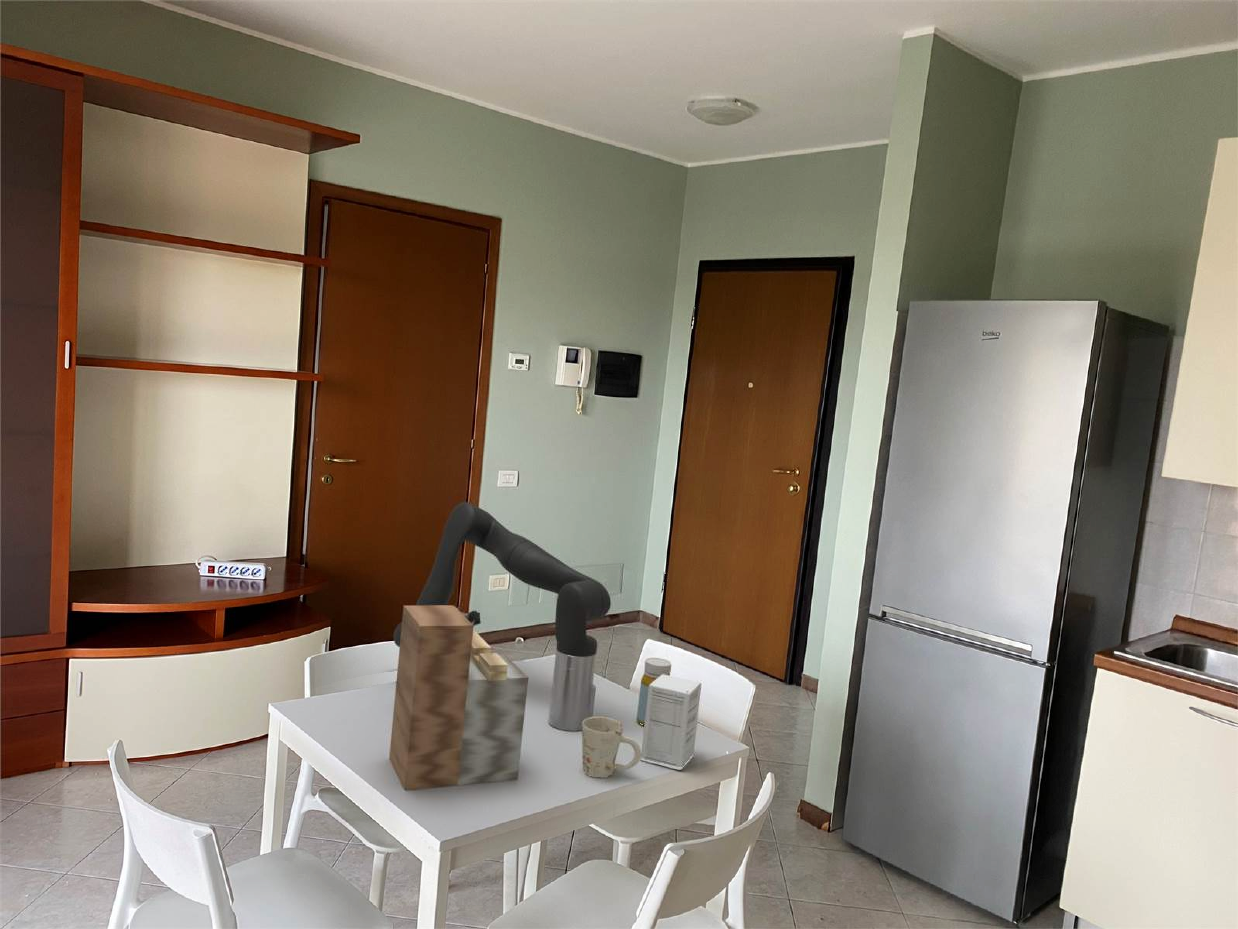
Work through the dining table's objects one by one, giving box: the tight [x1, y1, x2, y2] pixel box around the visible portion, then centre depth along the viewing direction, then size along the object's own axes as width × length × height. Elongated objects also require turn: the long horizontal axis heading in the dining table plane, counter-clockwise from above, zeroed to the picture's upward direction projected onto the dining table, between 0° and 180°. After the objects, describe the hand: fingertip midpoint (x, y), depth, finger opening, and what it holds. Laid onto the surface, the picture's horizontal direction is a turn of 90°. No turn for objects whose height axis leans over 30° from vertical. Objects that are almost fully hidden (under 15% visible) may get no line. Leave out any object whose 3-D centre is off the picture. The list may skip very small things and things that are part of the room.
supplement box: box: [640, 674, 702, 767], centre depth 193 cm, size 10×9×17 cm
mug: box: [581, 716, 642, 778], centre depth 183 cm, size 8×13×10 cm, turn 82°
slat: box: [470, 629, 508, 681], centre depth 181 cm, size 4×24×3 cm, turn 26°
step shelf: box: [388, 604, 529, 791], centre depth 176 cm, size 22×14×31 cm, turn 116°
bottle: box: [636, 657, 672, 725], centre depth 213 cm, size 7×7×15 cm
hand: (457, 616), depth 198 cm, fingers open, 8 cm apart
